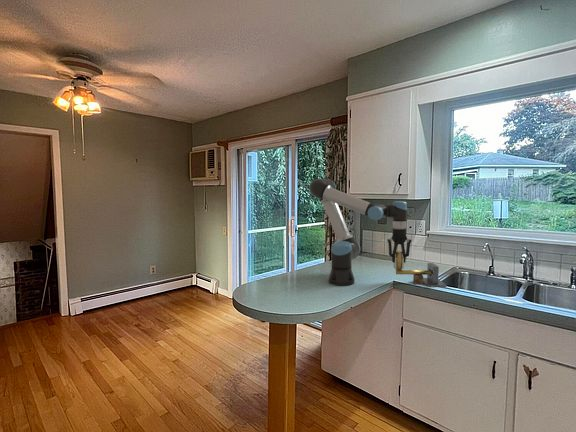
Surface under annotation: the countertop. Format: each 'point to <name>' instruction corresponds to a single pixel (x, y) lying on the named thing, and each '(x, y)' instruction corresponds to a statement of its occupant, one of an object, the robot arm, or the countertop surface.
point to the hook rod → (414, 272)
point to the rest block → (418, 279)
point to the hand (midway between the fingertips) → (398, 268)
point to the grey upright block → (433, 277)
